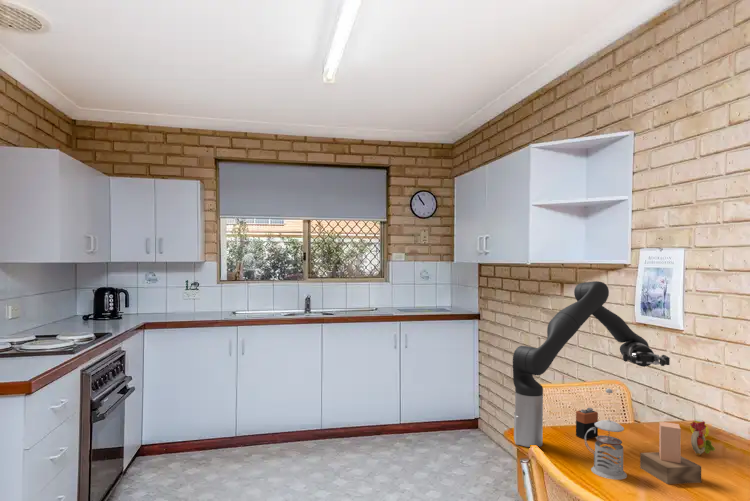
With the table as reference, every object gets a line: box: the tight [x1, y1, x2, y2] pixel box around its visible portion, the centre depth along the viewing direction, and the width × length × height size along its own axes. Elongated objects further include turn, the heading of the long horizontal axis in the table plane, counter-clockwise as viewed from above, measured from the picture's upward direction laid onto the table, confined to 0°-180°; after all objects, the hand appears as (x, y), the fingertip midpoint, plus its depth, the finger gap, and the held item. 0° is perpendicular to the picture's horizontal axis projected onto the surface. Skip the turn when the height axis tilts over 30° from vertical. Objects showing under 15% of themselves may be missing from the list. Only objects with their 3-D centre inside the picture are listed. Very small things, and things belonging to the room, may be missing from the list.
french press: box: [584, 388, 628, 481], centre depth 144 cm, size 10×12×25 cm
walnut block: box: [639, 451, 702, 485], centre depth 142 cm, size 11×11×5 cm
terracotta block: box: [658, 420, 682, 463], centre depth 143 cm, size 5×5×10 cm
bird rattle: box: [689, 421, 716, 456], centre depth 160 cm, size 6×11×9 cm
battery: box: [575, 407, 599, 440], centre depth 174 cm, size 4×7×10 cm, turn 115°
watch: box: [689, 419, 710, 438], centre depth 177 cm, size 6×3×6 cm, turn 25°
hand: (649, 361), depth 163 cm, fingers open, 8 cm apart
